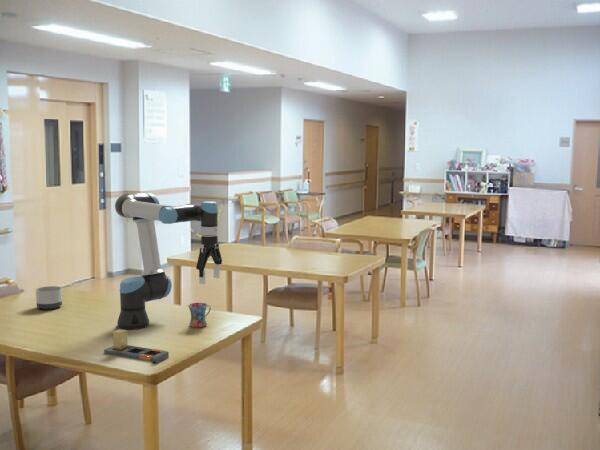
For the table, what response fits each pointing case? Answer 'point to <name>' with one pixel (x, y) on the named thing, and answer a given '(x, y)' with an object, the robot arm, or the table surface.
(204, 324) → the mug
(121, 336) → the tan rectangular block
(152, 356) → the rail
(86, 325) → the table surface
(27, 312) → the table surface
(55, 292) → the planter
